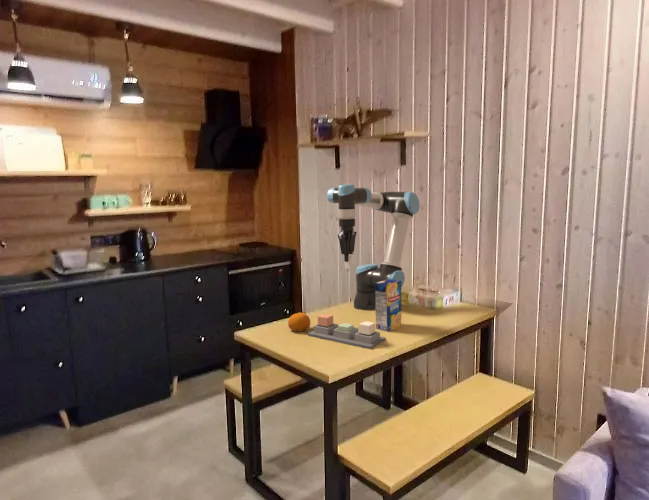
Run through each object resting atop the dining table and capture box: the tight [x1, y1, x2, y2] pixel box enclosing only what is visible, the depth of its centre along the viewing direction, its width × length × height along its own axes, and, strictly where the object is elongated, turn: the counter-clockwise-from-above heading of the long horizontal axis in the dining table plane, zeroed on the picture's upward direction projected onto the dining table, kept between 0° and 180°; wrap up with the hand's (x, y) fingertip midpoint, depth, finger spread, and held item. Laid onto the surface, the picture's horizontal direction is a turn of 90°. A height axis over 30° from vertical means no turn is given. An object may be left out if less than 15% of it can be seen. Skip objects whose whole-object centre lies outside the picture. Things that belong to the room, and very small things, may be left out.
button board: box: [307, 322, 387, 350], centre depth 217 cm, size 13×33×4 cm, turn 54°
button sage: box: [338, 322, 355, 332], centre depth 217 cm, size 5×5×4 cm
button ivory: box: [358, 320, 376, 335], centre depth 210 cm, size 5×5×4 cm
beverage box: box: [374, 279, 402, 332], centre depth 229 cm, size 7×11×22 cm, turn 135°
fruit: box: [287, 312, 311, 332], centre depth 230 cm, size 10×10×8 cm
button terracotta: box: [317, 313, 334, 327], centre depth 223 cm, size 5×5×4 cm
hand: (348, 268), depth 230 cm, fingers closed
